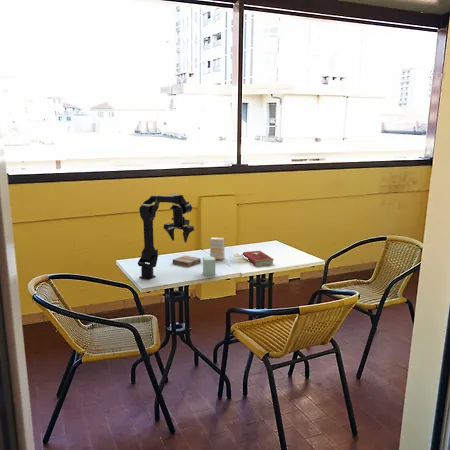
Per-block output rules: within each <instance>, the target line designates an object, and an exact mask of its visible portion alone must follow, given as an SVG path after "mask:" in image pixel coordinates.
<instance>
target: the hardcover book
mask: <svg viewBox="0 0 450 450" xmlns="http://www.w3.org/2000/svg"><path fill="white" fill-rule="evenodd" d="M243 255H244V256H245V257H247V258H248V260H249V261H248V263H250V264H251V263H252V264H251V265H253V266H254V267H261V266H260V265H264V266H269V265H268V264H273V265H274V260H275V259H274V258H273V257H271V256H270V255H268V254H267V253H265V252H263V251H261V250H253V251H243V252H242V256H243Z"/></svg>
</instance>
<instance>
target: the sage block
mask: <svg viewBox="0 0 450 450" xmlns="http://www.w3.org/2000/svg"><path fill="white" fill-rule="evenodd" d="M202 274H203V275H204V276H206V277H209V276H216V259H215V258H214V257H210V256H202Z"/></svg>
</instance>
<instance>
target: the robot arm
mask: <svg viewBox="0 0 450 450" xmlns="http://www.w3.org/2000/svg"><path fill="white" fill-rule="evenodd" d="M160 203H170V204H172V205H171V206H170V210H172V217H171V221H173V222H167V223H164V224H163V230H165V231H166V232H167V234H168V235H169V237H170V239H171V241H174V240H175V230H176V229H177V230H182V231H183V232H182V237H183V241H184V244H185V243H187V241H188V238H189V237H190V234H191V233H192V232H194V231H195V226H193V225H190V221H191V220H190V219H186V217H185V216H184V215H185V214H188V213H191V212H192V210H193V206H192V205H191V203H190V201H188V200H186V199H185V197H184V195H183V194H179V193H178V194H176V193H171V194H169V195H161V194H160V195H157V194H151V195H150V197H149V198H148V199H145V201H143V202H142V204H140V206H139V209H138V210H139V216H140V219H142V222H143V242H144V243H143V244H144V246H143V249H142V251H141V256H140V258H139V260H138V262H137V266H138V267H141V269H140V271H141V275H140V276H139V277H138V278H139V279H144V280H148V281H149V280H151V279H153V278H156V276H157V275H154V268H156V267H157V263H158V260H159V259H158V257H159V251H158V249H157V248H155V246H154V245H155V243H154V242H155V241H154V220H155V217H156V216H157V215H156V213H157V211H158V209H159V206H160Z"/></svg>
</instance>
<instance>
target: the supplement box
mask: <svg viewBox="0 0 450 450" xmlns="http://www.w3.org/2000/svg"><path fill="white" fill-rule="evenodd" d="M209 248H210V251H209V254H210V256H209V257H214V258H215V260H220V261H223V260H224V259H225V257H226V256H225V238H224V237H213V236H212V237H211V238H209Z"/></svg>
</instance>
